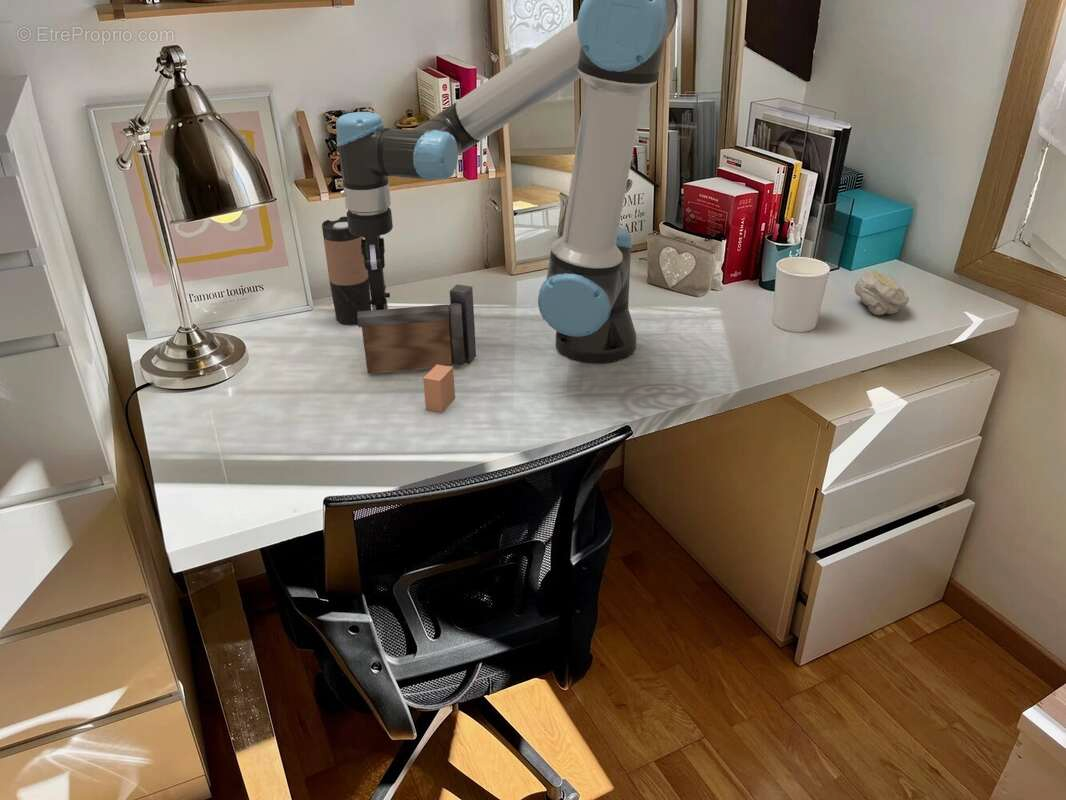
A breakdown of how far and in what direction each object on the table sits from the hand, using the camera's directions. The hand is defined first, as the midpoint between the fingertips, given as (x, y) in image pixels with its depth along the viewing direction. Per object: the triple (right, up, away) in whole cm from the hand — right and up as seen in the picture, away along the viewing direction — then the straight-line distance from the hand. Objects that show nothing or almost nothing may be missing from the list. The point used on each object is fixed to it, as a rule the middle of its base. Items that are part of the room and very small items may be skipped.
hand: (383, 333), depth 157 cm
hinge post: (+15, -5, 0) cm, 16 cm away
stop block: (+12, -13, -13) cm, 22 cm away
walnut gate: (+6, -6, -3) cm, 9 cm away
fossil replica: (+97, +6, +16) cm, 99 cm away
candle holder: (+79, +3, +11) cm, 80 cm away
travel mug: (-9, +4, +17) cm, 19 cm away
